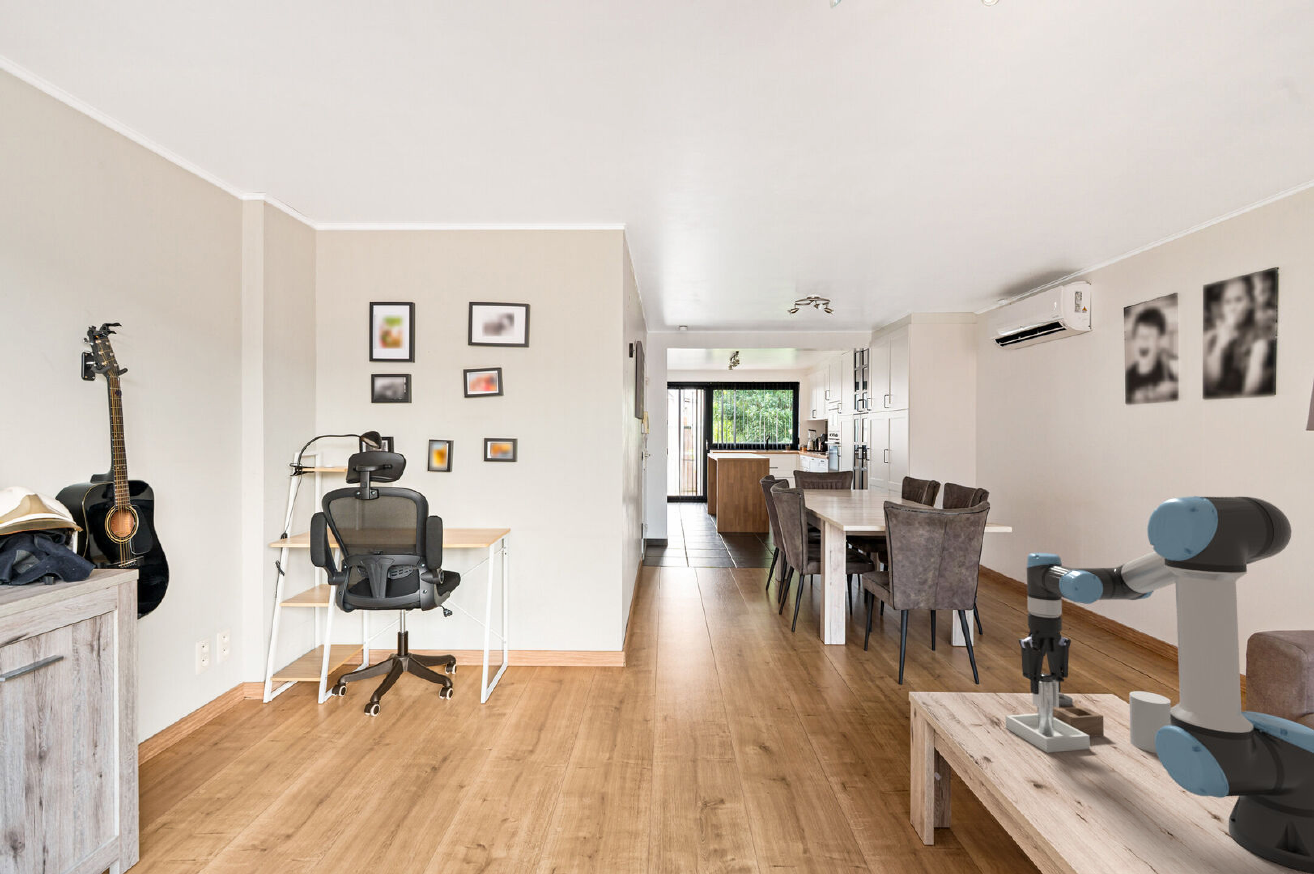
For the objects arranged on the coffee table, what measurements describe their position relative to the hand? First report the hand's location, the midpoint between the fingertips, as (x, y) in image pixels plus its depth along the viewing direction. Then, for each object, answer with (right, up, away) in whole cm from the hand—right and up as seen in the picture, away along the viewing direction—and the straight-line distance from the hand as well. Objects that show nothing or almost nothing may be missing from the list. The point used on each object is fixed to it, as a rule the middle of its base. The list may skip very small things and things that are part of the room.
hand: (1045, 705), depth 162 cm
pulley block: (+11, -8, +7) cm, 15 cm away
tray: (0, -8, 0) cm, 8 cm away
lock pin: (0, -7, 0) cm, 7 cm away
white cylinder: (+24, -8, -4) cm, 25 cm away
